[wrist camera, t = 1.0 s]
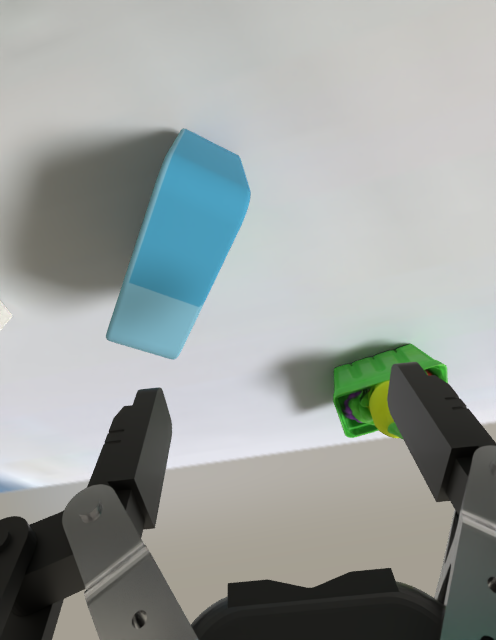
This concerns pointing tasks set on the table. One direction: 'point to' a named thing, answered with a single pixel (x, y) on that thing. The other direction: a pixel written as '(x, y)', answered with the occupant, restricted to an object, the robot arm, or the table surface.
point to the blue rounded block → (180, 245)
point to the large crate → (4, 315)
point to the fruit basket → (374, 390)
